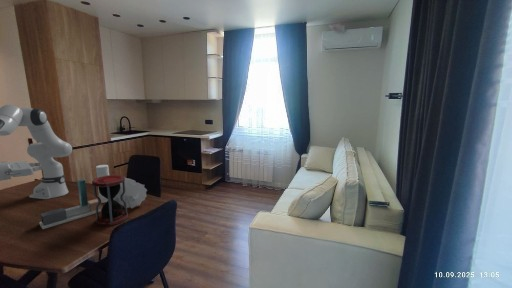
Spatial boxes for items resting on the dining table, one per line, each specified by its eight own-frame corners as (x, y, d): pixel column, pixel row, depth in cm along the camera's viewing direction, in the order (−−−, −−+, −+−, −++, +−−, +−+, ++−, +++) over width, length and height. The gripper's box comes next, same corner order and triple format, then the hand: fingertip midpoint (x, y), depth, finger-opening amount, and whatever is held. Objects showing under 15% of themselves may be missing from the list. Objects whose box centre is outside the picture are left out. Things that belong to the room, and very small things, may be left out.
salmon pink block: (91, 211, 146) (90, 203, 145) (88, 209, 149) (87, 201, 148) (102, 208, 150) (101, 200, 150) (99, 206, 154) (98, 198, 153)
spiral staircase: (126, 203, 172) (144, 211, 157) (100, 200, 158) (117, 208, 143) (134, 178, 176) (153, 184, 161) (110, 173, 162) (128, 179, 147)
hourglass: (98, 216, 143) (93, 176, 139) (128, 211, 151) (125, 173, 146) (94, 228, 129) (89, 185, 125) (127, 222, 137) (124, 181, 132)
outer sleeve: (44, 225, 129) (42, 216, 128) (42, 222, 132) (40, 213, 131) (66, 219, 137) (65, 210, 136) (64, 216, 140) (63, 207, 139)
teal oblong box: (61, 218, 136) (57, 185, 132) (60, 216, 138) (56, 184, 134) (94, 209, 148) (91, 179, 144) (92, 207, 150) (89, 177, 147)
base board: (42, 229, 128) (42, 227, 128) (39, 224, 133) (39, 222, 132) (104, 210, 151) (104, 208, 150) (100, 206, 156) (100, 205, 155)
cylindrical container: (105, 203, 161) (102, 167, 157) (96, 202, 163) (93, 167, 158) (113, 199, 168) (110, 165, 164) (105, 198, 169) (102, 164, 165)
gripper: (5, 168, 110) (44, 163, 120) (1, 161, 123) (36, 157, 133) (7, 181, 111) (46, 175, 121) (3, 173, 124) (38, 167, 134)
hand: (41, 165), depth 127 cm, fingers open, 8 cm apart
